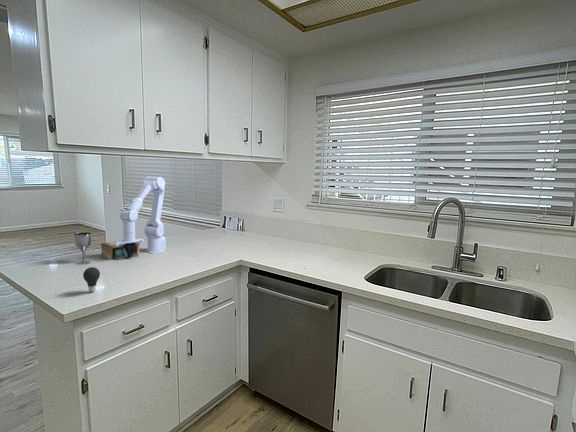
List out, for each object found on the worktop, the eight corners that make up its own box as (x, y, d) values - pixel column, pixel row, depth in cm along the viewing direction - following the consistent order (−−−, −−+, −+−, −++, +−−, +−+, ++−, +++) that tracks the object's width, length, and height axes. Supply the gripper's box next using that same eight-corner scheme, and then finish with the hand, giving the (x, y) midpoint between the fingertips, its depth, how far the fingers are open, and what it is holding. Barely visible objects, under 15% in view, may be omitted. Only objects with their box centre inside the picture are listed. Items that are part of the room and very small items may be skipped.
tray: (127, 254, 181) (127, 250, 181) (138, 257, 175) (138, 254, 175) (107, 257, 172) (107, 253, 172) (117, 261, 166) (117, 257, 166)
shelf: (130, 250, 185) (130, 239, 184) (139, 254, 179) (139, 242, 178) (101, 256, 172) (101, 243, 171) (110, 259, 167) (109, 246, 166)
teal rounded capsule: (119, 256, 174) (118, 248, 173) (123, 256, 173) (123, 249, 172) (113, 257, 171) (113, 249, 170) (118, 258, 169) (117, 250, 169)
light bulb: (86, 295, 121) (85, 270, 119) (81, 291, 124) (80, 267, 123) (102, 292, 125) (101, 267, 123) (97, 288, 128) (96, 264, 127)
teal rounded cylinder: (130, 255, 176) (130, 247, 176) (127, 257, 173) (127, 249, 172) (124, 255, 176) (123, 247, 176) (120, 256, 173) (120, 248, 172)
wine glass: (84, 265, 156) (82, 235, 153) (70, 263, 157) (68, 234, 155) (96, 261, 163) (95, 232, 161) (83, 259, 165) (82, 231, 163)
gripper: (138, 229, 176) (139, 253, 178) (111, 232, 165) (112, 258, 166) (145, 231, 172) (145, 255, 174) (118, 234, 160) (118, 260, 162)
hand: (130, 256), depth 170 cm, fingers closed
